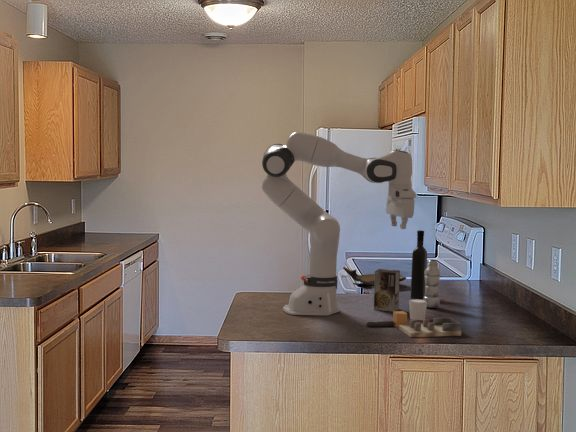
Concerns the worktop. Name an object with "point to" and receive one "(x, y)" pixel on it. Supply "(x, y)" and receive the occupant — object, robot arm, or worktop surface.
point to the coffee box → (386, 290)
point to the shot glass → (417, 309)
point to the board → (432, 328)
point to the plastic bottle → (432, 284)
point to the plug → (398, 319)
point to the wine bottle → (418, 268)
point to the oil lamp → (365, 277)
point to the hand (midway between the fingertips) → (398, 227)
